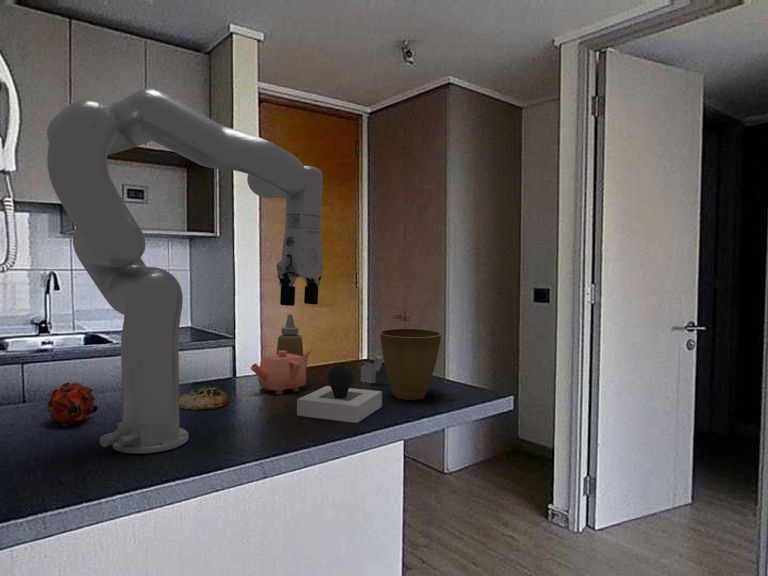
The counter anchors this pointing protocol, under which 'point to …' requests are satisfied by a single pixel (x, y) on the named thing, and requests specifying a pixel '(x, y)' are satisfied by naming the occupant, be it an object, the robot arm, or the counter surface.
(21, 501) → the counter surface
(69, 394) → the dragon fruit
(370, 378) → the lighter
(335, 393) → the light bulb
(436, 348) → the plant pot
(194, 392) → the bread roll
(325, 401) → the socket block
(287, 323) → the squeeze bottle
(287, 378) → the teapot
